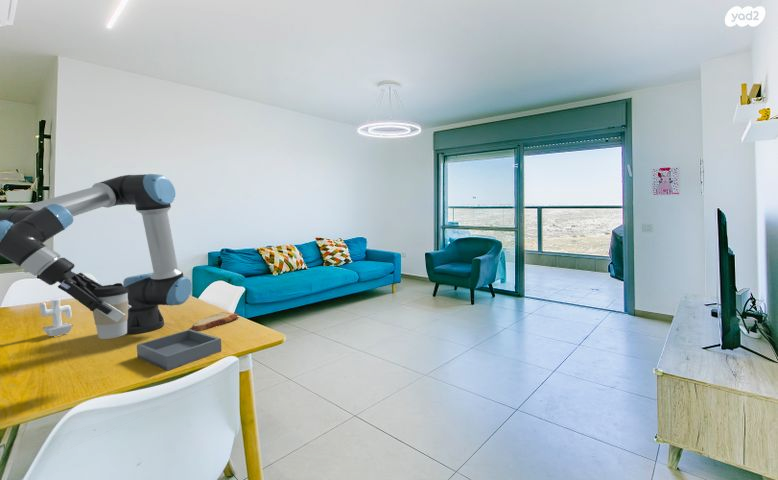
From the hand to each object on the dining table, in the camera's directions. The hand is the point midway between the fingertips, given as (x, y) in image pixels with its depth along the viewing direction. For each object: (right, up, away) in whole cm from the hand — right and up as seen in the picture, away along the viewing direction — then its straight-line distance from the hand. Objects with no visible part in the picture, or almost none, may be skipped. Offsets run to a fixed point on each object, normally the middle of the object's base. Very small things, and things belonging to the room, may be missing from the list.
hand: (124, 314), depth 106 cm
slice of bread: (+3, -15, +50) cm, 53 cm away
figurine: (-55, -17, +37) cm, 68 cm away
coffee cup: (-3, -6, -1) cm, 7 cm away
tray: (+7, -17, +16) cm, 25 cm away
